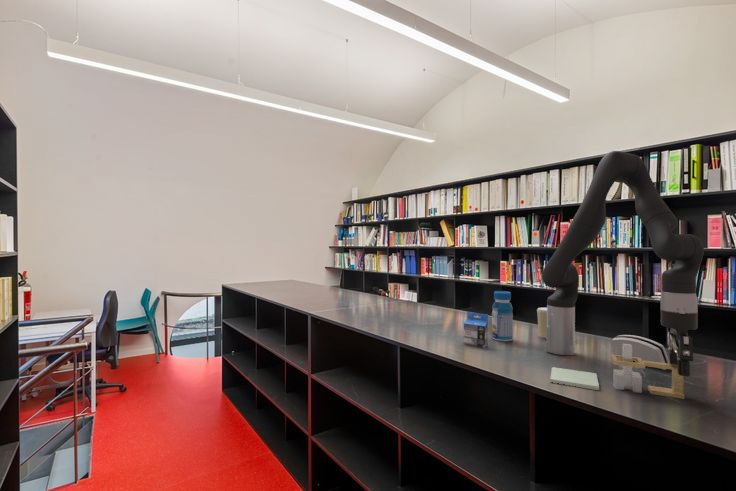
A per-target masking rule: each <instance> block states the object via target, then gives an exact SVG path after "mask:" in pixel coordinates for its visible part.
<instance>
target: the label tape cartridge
mask: <svg viewBox="0 0 736 491" xmlns="http://www.w3.org/2000/svg"><path fill="white" fill-rule="evenodd" d="M466 317H467V318H466V319H465V321H464V322H463V345H464V344H465V345H470V346H475V347H482V348H486V347H487V346H488V345H489V344H488V343H489V339H488V338H489V334H488V333H489V314H487V313H486V314H485V313H479V312H471V311H467V315H466Z"/></svg>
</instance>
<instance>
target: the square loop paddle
mask: <svg viewBox="0 0 736 491" xmlns="http://www.w3.org/2000/svg"><path fill="white" fill-rule="evenodd" d="M622 358H623V356H621V355H613V353H611V354H610V359H611V361H612V364H613V365H614V366H615V365H616V366H630V367H632V368H638V369H646V367H649V368H656V369H660V368H664V369H666V370H671V388H670V387H664V386H663V387H661V386H654V385H647V389H648V390H647V391H648V392H649V394H650V395H655V396H660V397H668V398H675V399H680V400H681V399H682V400H685V395H684V376H680V375H679V374H678V365H677V364H669V363H661V362H652V361H644V360H642V359H641V358H638V357H632V362H627V361H622ZM633 361H635V362H633Z"/></svg>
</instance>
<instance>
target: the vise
mask: <svg viewBox="0 0 736 491" xmlns="http://www.w3.org/2000/svg"><path fill="white" fill-rule="evenodd" d="M621 361H627V362H633V361H632V345H631V344H623V358H622V360H621ZM621 366H622V365H621ZM612 374H613V375H612V377H613V382H612V383H613V387H614V389H615V390H619V391H620V390H621V391H625V390H631V391H632V392H633V393H638V394H639V393H640V394H642V393H643V377H642V375H641V374H640V372H636V371H633V367H630V366H622V367H621V369H615V368H613V370H612Z"/></svg>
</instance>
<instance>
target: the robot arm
mask: <svg viewBox="0 0 736 491" xmlns="http://www.w3.org/2000/svg"><path fill="white" fill-rule="evenodd" d="M614 183H621V184H624V185H625V186H627V187H628V189H629V190H630V191H631V192H632V194H633V195H634V208H635V212H636V214H637V216H638V218H639V219H640V221H641V223H642V224H643V225H644V227H645V228H646V229H647V232H648V236H649V240H650V244H651V248H652V251H653V252H654V254H655V255H656V256H657V257H659V259H662V260H664V261H670V262H671V261H672V262H673V261H674V262H675V263H674V265H673V267H672V268H670V269H666V270H664V271H663V272H662V274H661V295H660V326H662V327H665V328H666V348H667V350H668V352H669V361H670V364H677V365H678V374H679V375H680V376H683V377H690V375H691V374H690V373H691V369H690V367H691V366H690V362H693V361H694V350H693V347H694V345H693V340H694V338H693V336H691V335H690V336H689V333H688V331H689V330H691V331H694V330H697V329H698V328H699V326H698V325H699V323H698V322H699V321H698V320H699V318H698V316H699V315H698V314H699V312H698V306H699V305H698V298H697V276H698V273H699V270H700V266H701V263H702V260H703V257H704V255H705V254H704V253H705V247H704V244H703V242H702V240H701V238H699V237H698V236H697V235H695V234H690V233H685V234H684V233H683V234H682V233H674V232H673V231H674V230H675V229H677V226H678V224H679V223H678V219H677V217H676V216H675V214H674V213H673V211H671V209H670V208H669V206H668V205H667V204H666V202H665V201H664V200H663V198H662V196H661V195H660V194H659V191H658V189H657V188H656V186H655V184H654V181H653V179H652V178H651V175H650V173H649V171H648V168H647V166H646V164H645V162H644V160H643V159H642V158H641V157H640V156H639V155H637V154H634V153H629V152H624V151H619V150H612V151H611V150H610V151H609V152H607V153H606V154H605V155H604V156H603V157H602V158H601V160H600V161H599V162H598V165H597V167H596V170H595V172H594V174H593V178H592V180H591V182H590V184H589V186H588V190H587V192H586V194H585V196H584V198H583V199H582V201H581V204H580V205H579V207H578V209H577V212H575V214H574V216H573V219H572V220H571V222H570V224H569V226H568V228H567V230H566V232H565V234H564V235H563V237H562V239H561V241H560V243H559V244H558V246H557V247H556V250H555V251H554V252H553V254H552V256H551V257H550V259H549V260H548V261H547V263H546V264H545V265H544V268H543V270H542V274H541V275H542V282H543V284H544V285H545V286H546V287H548V288H553V289H554V288H555V290H554V292H553V294H551V295H549V296H548V297H547V301H546V308H547V335H546V338H545V339H546V351H545V352H546V353H551V354H554V355H559V356H560V355H561V356H574V355H575V350H576V349H575V348H576V347H575V346H576V345H575V343H576V342H575V341H576V337H575V336H576V335H575V334H576V333H575V332H576V327H575V326H576V324H575V323H576V302H577V299H578V297H579V295H578V294H579V293H578V292H579V281H580V279H579V278H580V277H579V272H578V269H577V267H576V266H575V265H574V264H573V261H574V259H575V258H576V257H577V256H579V255H580V254H581V253H582V252H583V251H585V250H586V249H587V248H588V247H589V246H590V245H591V244H592V243H594V242H595V240H596V239H597V237H599V235H600V233H601V231H602V229H603V228H604V225H605V223H606V219H607V206H606V200H607V197H608V194H609V192H610V190H611V188H612V186H613V185H614ZM684 354H685V355H684Z"/></svg>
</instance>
